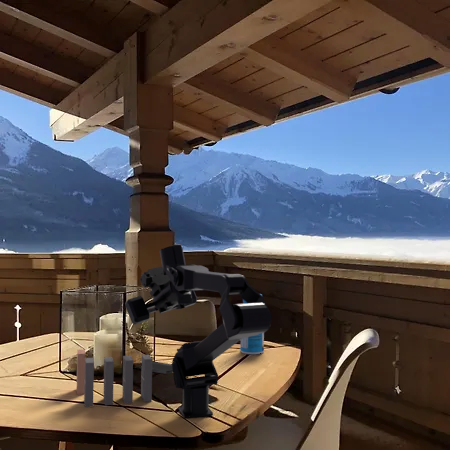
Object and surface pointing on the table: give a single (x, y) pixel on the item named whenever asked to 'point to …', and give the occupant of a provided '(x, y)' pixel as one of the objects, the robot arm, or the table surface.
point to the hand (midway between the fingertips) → (150, 312)
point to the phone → (161, 367)
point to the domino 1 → (80, 371)
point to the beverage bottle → (252, 343)
